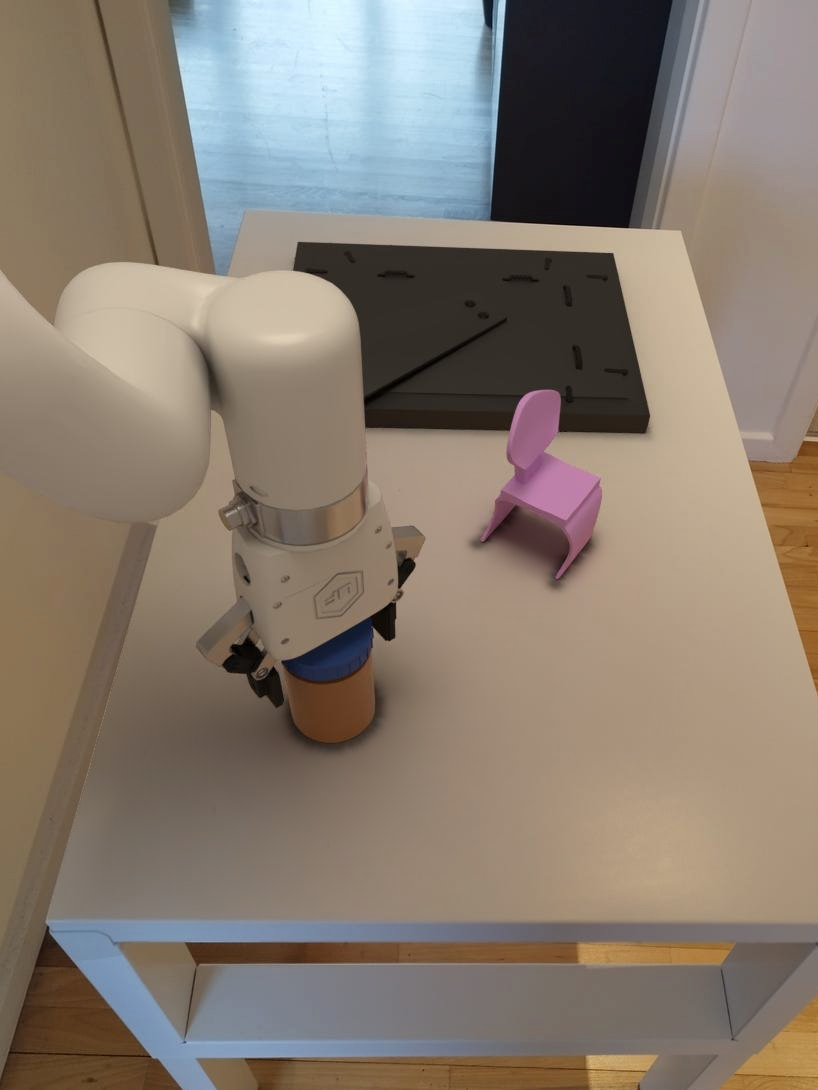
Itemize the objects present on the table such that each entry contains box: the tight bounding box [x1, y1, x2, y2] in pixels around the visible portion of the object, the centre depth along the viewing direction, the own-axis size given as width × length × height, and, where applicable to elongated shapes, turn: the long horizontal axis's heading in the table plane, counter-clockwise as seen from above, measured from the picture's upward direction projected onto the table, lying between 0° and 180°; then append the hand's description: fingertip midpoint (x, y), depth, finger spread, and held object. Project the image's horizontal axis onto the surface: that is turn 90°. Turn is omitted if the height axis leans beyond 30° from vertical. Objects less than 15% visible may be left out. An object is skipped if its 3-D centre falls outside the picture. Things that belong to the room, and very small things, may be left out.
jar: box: [280, 648, 376, 744], centre depth 68 cm, size 7×7×9 cm
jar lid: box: [280, 617, 375, 681], centre depth 65 cm, size 7×7×2 cm
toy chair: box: [480, 390, 603, 580], centre depth 78 cm, size 8×9×15 cm
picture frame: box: [292, 241, 651, 434], centre depth 101 cm, size 31×4×38 cm
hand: (326, 659), depth 67 cm, fingers open, 9 cm apart
